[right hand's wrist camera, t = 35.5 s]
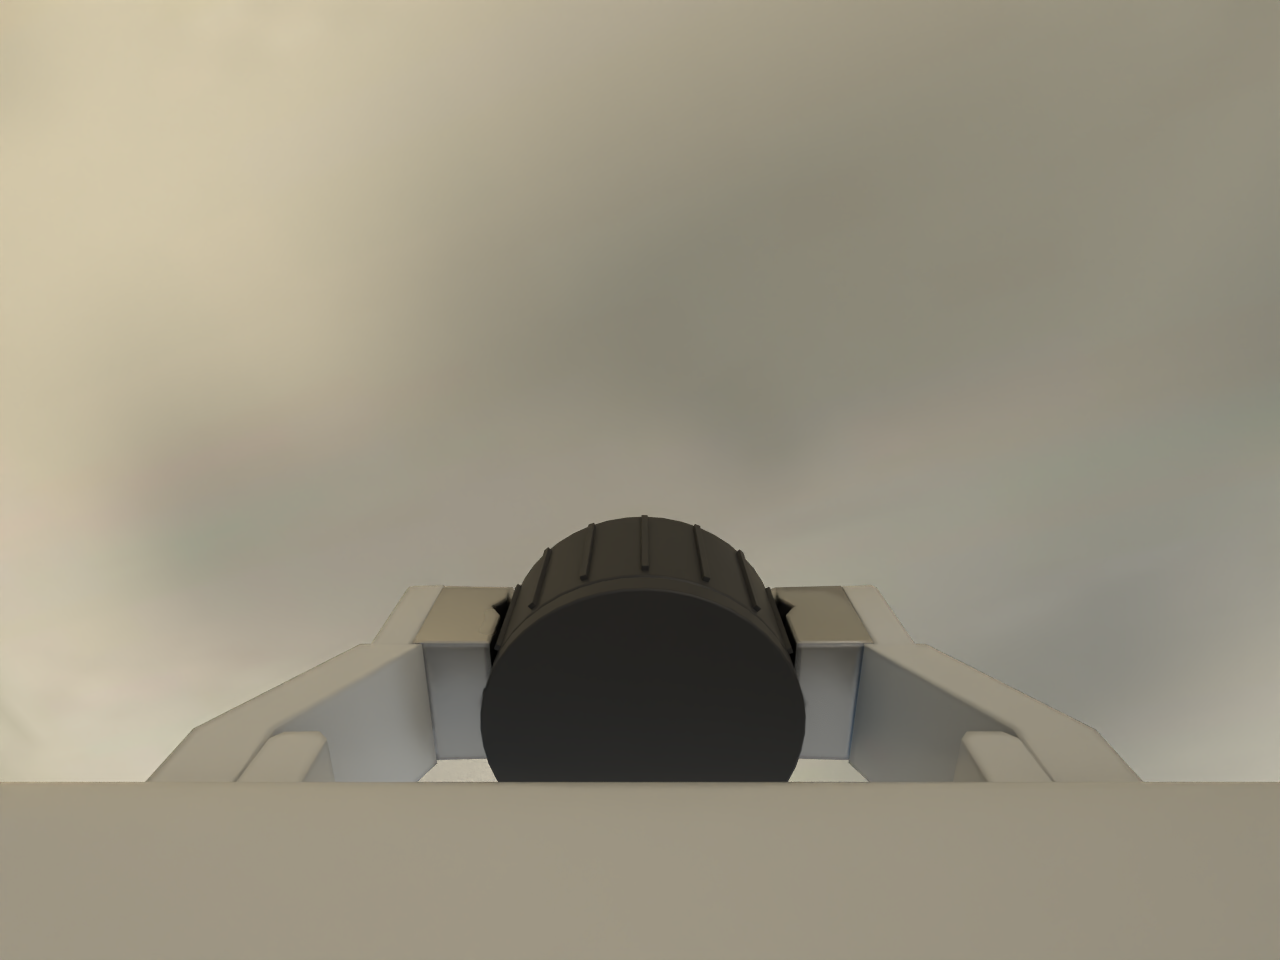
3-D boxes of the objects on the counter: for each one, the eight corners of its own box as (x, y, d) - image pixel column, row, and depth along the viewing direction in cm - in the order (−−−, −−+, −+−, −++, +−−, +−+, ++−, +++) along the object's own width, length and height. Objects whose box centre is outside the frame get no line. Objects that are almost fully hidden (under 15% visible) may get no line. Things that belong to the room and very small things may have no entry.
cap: (499, 509, 9) (462, 582, 7) (790, 513, 9) (828, 586, 7) (513, 742, 11) (485, 855, 9) (767, 745, 11) (795, 858, 9)
